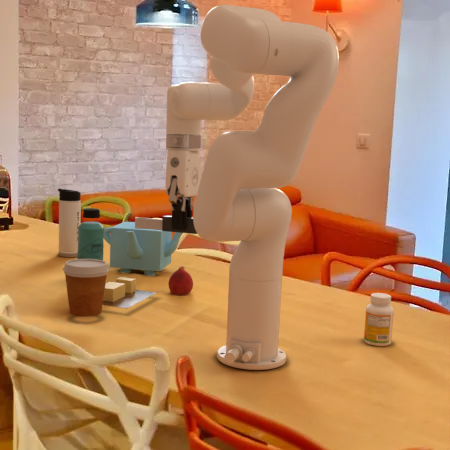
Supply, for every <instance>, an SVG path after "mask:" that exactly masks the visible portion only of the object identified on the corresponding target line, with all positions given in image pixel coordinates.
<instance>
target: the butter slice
mask: <svg viewBox="0 0 450 450" xmlns="http://www.w3.org/2000/svg"><path fill="white" fill-rule="evenodd" d="M115 282H116V283H124V284H125V293H133V292H135V291H136V290H137V289H136V288H137V279H136V278H133V277H124V276H119V277H117V278H116V279H115Z"/></svg>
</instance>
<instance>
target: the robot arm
mask: <svg viewBox="0 0 450 450" xmlns="http://www.w3.org/2000/svg"><path fill="white" fill-rule="evenodd" d="M199 34H200V42H201V45H202V47H203V50H204V51H205V52H206V53H207V54H208V55H209V56H210V57H209V68H210V72H211V74H212V75H213V76H214V78H215V79H216V80H217V81H218V82H198V81H184V82H181V83H179V84H172V85H170V86H169V87H168V88H167V91H166V125H165V126H166V127H165V130H166V131H165V132H166V133H165V134H166V135H165V151H167V157H166V169H165V194H166V195H167V196H168V202H169V203H170V204H171V207H170V209H171V216H172V229H175V230H186V223H187V217H192V218H193V222H194V227H195V230H196V232H197V234H196V235H198V236H199V237H200V238H202V240H205V241H206V242H207V241H208V242H210V243H211V242H213V243H214V242H215V243H225V242H239V243H238V245H237V247H236V248H235V250H234V252H233V254H232V256H231V259H230V263H229V268H228V269H229V270H228V271H229V272H228V294H227V314H226V315H227V318H226V338H225V339H226V340H225V344H224V345H223V346H221V347H219V348H218V349H217V351H216V358H217V360H218V361H219V362H221V363H222V364H224V365H226V366H229V367H231V368H236V369H240V370H249V371H263V370H272V369H276V368H279V367H281V366H283V365H285V363H286V362H287V353H286V352H285V351H284V350H283V349H281V348H279V343H280V342H279V341H280V323H281V308H282V307H281V304H282V290H283V289H282V288H283V287H282V286H283V273H284V272H283V271H284V257H285V249H286V243H287V238H288V234H289V231H290V226H291V222H292V215H293V210H292V209H293V208H292V204H291V203H292V202H291V201H290V199H289V196H288V195H287V194H286V193H285V192H284V191H282V190H281V189H279V188H284V187H287V186H289V185H291V184H292V183H293V182H294V181H295V179H296V177H297V176H298V174H299V171H300V168H301V165H302V163H303V159H304V158H305V155H306V151H307V149H308V145H309V143H310V139H311V137H312V134H313V131H314V127H315V124H316V122H317V120H318V117H319V115H320V113H321V111H322V109H323V107H324V106H325V103H326V102H327V100H328V98H329V97H330V95H331V93H332V91H333V89H334V86H335V83H336V81H337V77H338V72H339V64H340V60H339V59H340V56H339V49H338V45H337V42H336V40H335V38H334V37H333V36H332V34H330V33H329V32H328V31H327V30H325V29H323V28H321V27H319V26H316V25H313V24H308V23H302V22H293V21H282V20H281V18H280V17H279V16H278V15H277V14H276V13H274V12H272V11H270V10H267V9H263V8H259V7H258V8H257V7H248V6H239V5H230V4H219V5H216V6H214V7H212V8H211V9H210V10H209V11H208V12H207V14H206V15H205V17H204V18H203V20H202V24H201V26H200V33H199ZM254 75H265V76H266V75H267V76H280V77H282V76H283V77H289V80H288V81H287V82H286V83H285V84H283V85H282V86H281V87H280V88H279V89H278V90H277V91H276V92H275V93H274V94H273V95H272V97H270V99H269V100H268V102H267V104H266V106H265V108H264V111H263V115H262V117H261V118H262V119H261V122H260V124H259V126H258V127H257V128H256V129H254V130H230V131H225V132H222V133H221V134H219V135H218V136H217V137H216V138H214V140H213V142H211V144H210V146H209V149H208V151H207V155H206V158H205V162H204V165H203V169H202V158H201V151H202V125H203V124H202V123H203V121H224V122H225V121H230V120H234V119H235V118H237V117H238V116H239V115H241V114H242V112H244V111H245V110H246V109H247V108H248V107H249V106H250V104H251V102H252V100H253V97H254V96H253V95H254V92H255V78H254ZM202 120H203V121H202ZM194 199H195V200H194Z"/></svg>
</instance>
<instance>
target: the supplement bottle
mask: <svg viewBox="0 0 450 450" xmlns="http://www.w3.org/2000/svg"><path fill="white" fill-rule="evenodd" d="M391 303H392V295H390V294H388V293H384V292H383V293H382V292H373V293H371V294H370V303H368V304H367V305H366V307H365V316H364V317H365V319H364V331H363V333H364V334H363V341H364V342H365V343H366V344H367V345H370V346H375V347H376V346H377V347H387V346H389V345H391V343H392V337H393V324H394V323H393V322H394V308H393V306H391V305H390V304H391Z"/></svg>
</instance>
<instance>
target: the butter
mask: <svg viewBox="0 0 450 450" xmlns="http://www.w3.org/2000/svg"><path fill="white" fill-rule="evenodd" d="M122 297H125V284H124V283H116V281H109V282H106V284H105V291H104V298H103V301H108V302H114V301H116V300H118V299H120V298H122Z"/></svg>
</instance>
